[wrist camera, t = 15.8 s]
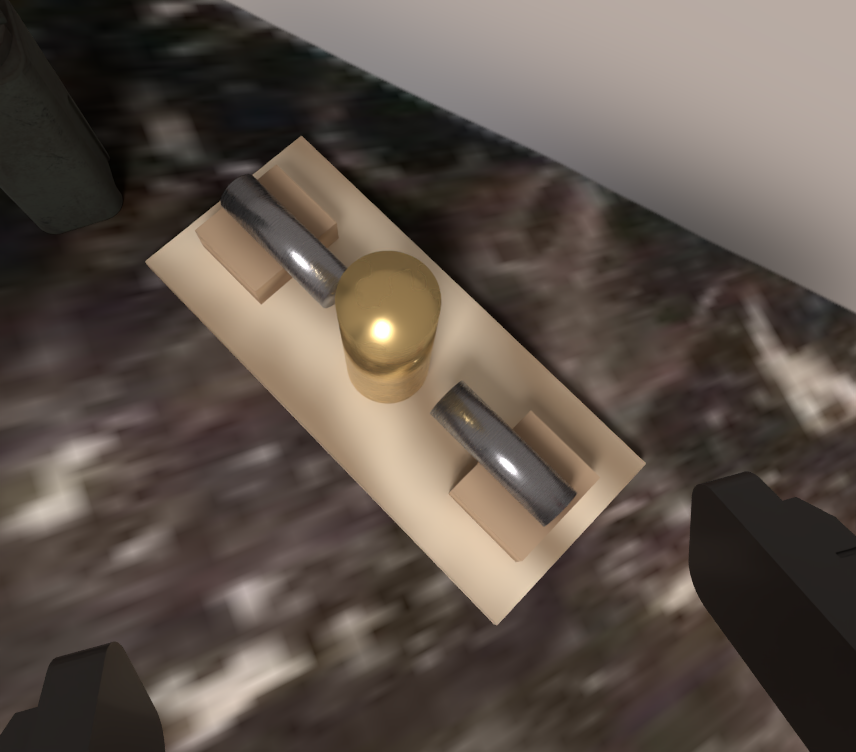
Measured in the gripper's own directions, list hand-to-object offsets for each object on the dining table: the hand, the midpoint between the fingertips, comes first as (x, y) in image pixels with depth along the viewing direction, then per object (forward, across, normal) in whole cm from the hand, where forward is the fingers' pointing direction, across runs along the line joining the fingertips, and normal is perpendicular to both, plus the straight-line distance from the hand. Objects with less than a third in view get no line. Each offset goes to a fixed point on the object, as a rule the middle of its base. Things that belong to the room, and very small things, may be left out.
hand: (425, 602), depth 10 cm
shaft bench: (+30, -3, +13) cm, 33 cm away
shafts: (+28, -3, +11) cm, 30 cm away
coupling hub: (+29, -3, +13) cm, 32 cm away
